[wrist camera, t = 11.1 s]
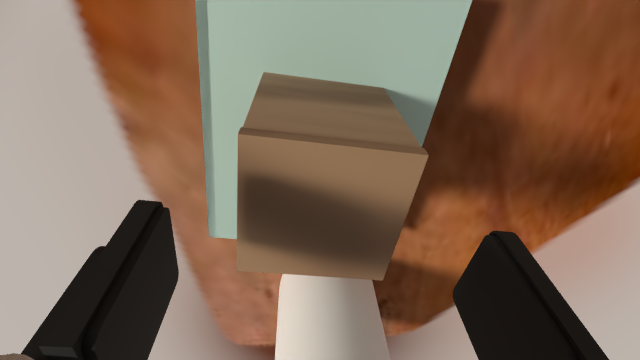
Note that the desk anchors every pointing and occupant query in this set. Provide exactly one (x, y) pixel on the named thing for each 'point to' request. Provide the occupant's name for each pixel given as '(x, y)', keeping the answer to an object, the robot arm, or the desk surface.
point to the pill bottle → (328, 320)
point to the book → (314, 66)
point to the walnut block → (323, 179)
